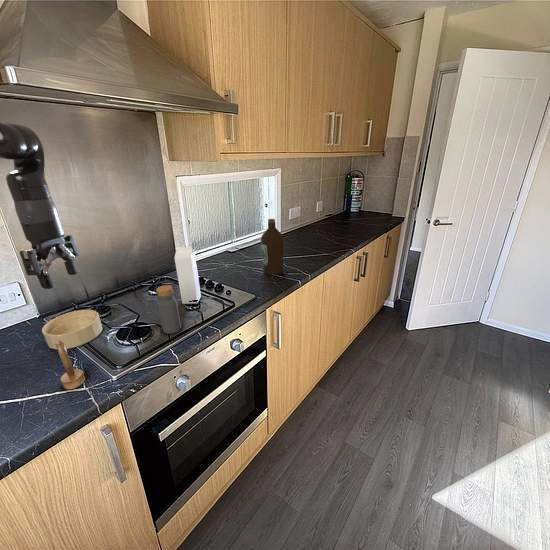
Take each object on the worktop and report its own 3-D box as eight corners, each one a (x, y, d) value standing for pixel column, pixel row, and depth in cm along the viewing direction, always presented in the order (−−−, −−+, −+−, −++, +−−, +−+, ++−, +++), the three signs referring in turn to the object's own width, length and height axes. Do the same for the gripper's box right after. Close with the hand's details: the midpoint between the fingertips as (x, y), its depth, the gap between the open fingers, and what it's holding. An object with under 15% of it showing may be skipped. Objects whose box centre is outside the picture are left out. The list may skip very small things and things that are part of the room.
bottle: (162, 326, 99) (154, 286, 93) (180, 322, 101) (173, 282, 95) (163, 335, 94) (154, 293, 88) (182, 331, 96) (174, 290, 90)
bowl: (35, 350, 89) (28, 335, 86) (71, 323, 102) (66, 309, 100) (83, 351, 87) (77, 336, 85) (112, 323, 101) (108, 309, 99)
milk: (186, 297, 118) (177, 244, 110) (201, 296, 118) (193, 244, 110) (182, 304, 113) (172, 249, 104) (197, 303, 113) (189, 249, 104)
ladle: (58, 389, 74) (41, 346, 68) (72, 375, 78) (56, 334, 73) (76, 389, 73) (60, 347, 68) (89, 376, 78) (74, 335, 72)
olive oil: (279, 265, 147) (278, 216, 137) (287, 273, 138) (286, 220, 128) (259, 268, 144) (256, 218, 134) (266, 276, 135) (263, 223, 125)
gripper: (48, 212, 76) (67, 270, 82) (-4, 225, 63) (24, 293, 69) (75, 212, 75) (93, 270, 81) (29, 225, 62) (54, 293, 68)
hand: (61, 281), depth 75 cm, fingers open, 8 cm apart
